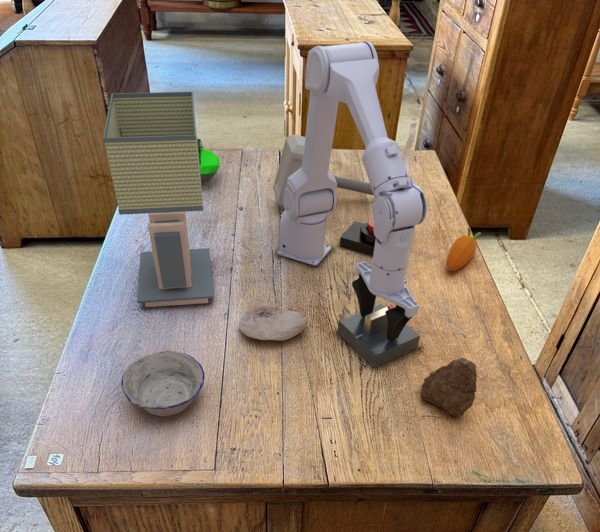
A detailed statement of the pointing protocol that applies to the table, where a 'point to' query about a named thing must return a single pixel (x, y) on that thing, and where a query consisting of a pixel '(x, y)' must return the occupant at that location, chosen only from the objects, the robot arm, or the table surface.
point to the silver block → (376, 321)
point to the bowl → (163, 382)
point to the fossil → (272, 323)
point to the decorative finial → (409, 143)
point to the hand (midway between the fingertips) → (379, 326)
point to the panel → (376, 340)
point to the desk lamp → (160, 190)
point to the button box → (359, 238)
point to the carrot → (462, 251)
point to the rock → (452, 386)
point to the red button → (371, 226)
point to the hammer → (293, 162)
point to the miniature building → (207, 163)
